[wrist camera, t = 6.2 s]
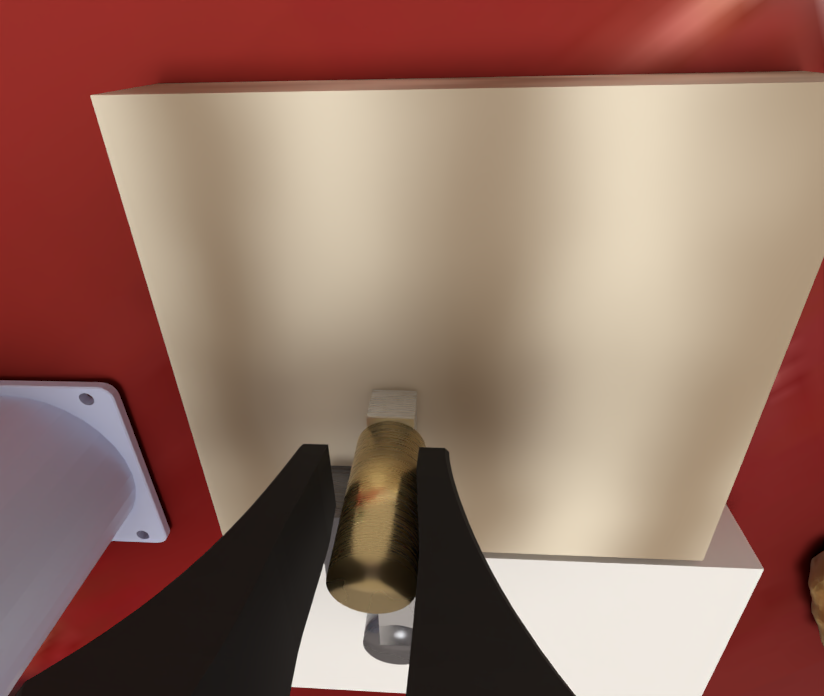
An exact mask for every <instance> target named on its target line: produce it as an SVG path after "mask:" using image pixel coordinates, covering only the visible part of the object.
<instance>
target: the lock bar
mask: <svg viewBox="0 0 824 696" xmlns="http://www.w3.org/2000/svg"><path fill="white" fill-rule="evenodd" d="M419 447H426V446H425V442H424V440H423V438H422V436H421V435H420V434H419V433H418V432H417V391H403V390H374V389H373V391H372V395H371V400H370V404H369V409H368V413H367V428H366V429H365V430H364V431H363V432H362V433H361V434H360V436H359V438H358V441H357V445H356V450H355V454H354V459H353V463H352V467H351V472H350V476H349V480H348V485H347V489H346V493H345V498H344V502H343V506H342V511H341V515H340V519H339V524H338V528H337V533H336V537H335V541H334V546H333V550H332V554H331V559H330V563H329V567H328V572H327V576H326V586H327V589H328V591H329V592H330V594H331V595H332V596H333V598H334V599H336V600H337V601H338V602H339V603H341V604H342V605H344V606H346V607H348V608H350V609H353V610H356V611H359V612H364V613H367V617H366V624H365V631H364V638H363V646H364V648H365V650H366V651H367V652H368V654H370V655H371V656H372V657H374V658H375V659H377V660H380V661H382V662H385V663H389V664H396V665H407V664H409V660H410V650H411V640H412V629H413V619H414V608H415V596H416V585H417V573H418V561H419V540H418V512H417V477H416V467H417V459H418V452H419Z"/></svg>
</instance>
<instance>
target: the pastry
mask: <svg viewBox="0 0 824 696" xmlns="http://www.w3.org/2000/svg"><path fill="white" fill-rule="evenodd" d="M808 585H809V589H810V595H811V597H812V603H811V610H812V614H813V615H814V618H815V620H816V622H817V624H818V628H819V632H820V639H821V642H822V644H823V646H824V551H823V552H821V553H819V554H818V555H817V556H815V557H813V558H812V560H811V564H810V575H809V581H808Z"/></svg>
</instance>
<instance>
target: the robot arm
mask: <svg viewBox="0 0 824 696" xmlns="http://www.w3.org/2000/svg"><path fill="white" fill-rule="evenodd" d="M87 394H89V395H90V396H92V398H91V397H89V396H88V395H87ZM416 477H417V512H418V540H419V561H418V573H417V585H416V596H415V608H414V619H413V629H412V640H411V650H410V660H409V670H408V679H407V688H406V696H576V695H575V694H574V693H573V691H572V690H571V689H570V688H569V686H568V685H567V684H566V683H565V681H564V680H563V679H562V677H561V676H560V675H559V674H558V672H557V671H556V670H555V668H554V667H553V665H552V664H551V663H550V661H549V660H548V659H547V657H546V656H545V655H544V653H543V652H542V651H541V649H540V648H539V646H538V645H537V643H536V642H535V640H534V639H533V637H532V636H531V634H530V633H529V631H528V630H527V628H526V627H525V625H524V624H523V622H522V621H521V619H520V618H519V616H518V615H517V613H516V612H515V610H514V609H513V607H512V605H511V604H510V602H509V600H508V599H507V597H506V595H505V594H504V592H503V590H502V589H501V587H500V585H499V583H498V581H497V580H496V578H495V576H494V574H493V572H492V570H491V569H490V567H489V565H488V563H487V561H486V559H485V557H484V555H483V553H482V551H481V548H480V546H479V544H478V542H477V540H476V538H475V535H474V533H473V531H472V529H471V526H470V524H469V521H468V519H467V516H466V514H465V511H464V508H463V506H462V503H461V500H460V497H459V494H458V491H457V488H456V485H455V481H454V478H453V474H452V469H451V464H450V457H449V451H448V450H447V449H445V448H431V447H419V452H418V459H417V467H416ZM335 508H336V500H335V493H334V485H333V478H332V470H331V463H330V455H329V448H328V444H303V445H301V446H300V447H299V448H298V450H297V451H296V452H295V454H294V455H293V456H292V458H291V459H290V460H289V461H288V463H287V464H286V465H285V466H284V468H283V469H282V470H281V471H280V473H279V474H278V475H277V476H276V478H275V479H274V480H273V481H272V482H271V484H270V485H269V486H268V487H267V488H266V490H265V491H264V492H263V493H262V494H261V495H260V496H259V498H258V499H257V500H256V501H255V502H254V503H253V505H252V506H251V507H250V508H249V509H248V510H247V511H246V512H245V513H244V514H243V516H242V517H241V518H240V519H239V520H238V521H237V522H236V523H235V524H234V525H233V526H232V527H231V528H230V529H229V530H228V531H227V532H226V533H225V534H224V535H223V536H222V537H221V538H220V539H219V540H218V541H217V542H216V543H215V544H214V545H213V546H212V547H211V548H210V549H209V550H208V551H207V552H206V553H205V554H204V555H203V556H202V557H200V558H199V559H198V560H197V561H196V562H195V563H194V564H193V565H191V566H190V567H189V568H188V569H187V570H186V571H185V572H184V573H182V574H181V575H180V576H179V577H177V578H176V579H175V580H174V581H173V582H171V583H170V584H169V585H168V586H167V587H165V588H164V589H163V590H162V591H161V592H159V593H158V594H157V595H156V596H154V597H153V598H152V599H150V600H149V601H148V602H147V603H145V604H144V605H143V606H141V607H140V608H139V609H137V610H136V611H134V612H133V613H132V614H130V615H129V616H127V617H126V618H125V619H123V620H122V621H120V622H119V623H117V624H116V625H115V626H113V627H112V628H110V629H109V630H108V631H106V632H105V633H103V634H102V635H100V636H99V637H97V638H96V639H94V640H93V641H91V642H90V643H88V644H87V645H85V646H83V647H82V648H80V649H79V650H77V651H75V652H74V653H72V654H70V655H69V656H67V657H66V658H64V659H62V660H61V661H59V662H57V663H56V664H54V665H52V666H51V667H49V668H48V669H46V670H44V671H43V672H41V673H39V674H38V675H36V676H34V677H33V678H31V679H29V680H27V681H26V682H25V683H24V684H23V686H22V687H21V688H20V690H19V691H18V692H17V694H16V695H15V696H290V691H291V686H292V681H293V676H294V671H295V666H296V661H297V656H298V651H299V648H300V644H301V640H302V636H303V632H304V629H305V625H306V622H307V619H308V615H309V612H310V609H311V605H312V602H313V598H314V595H315V592H316V588H317V585H318V582H319V578H320V575H321V571H322V568H323V565H324V561H325V558H326V554H327V551H328V547H329V543H330V538H331V532H332V527H333V521H334V515H335ZM169 533H170V528H169V526H168V523H167V520H166V518H165V515H164V512H163V510H162V507H161V504H160V502H159V499H158V496H157V494H156V491H155V488H154V486H153V483H152V480H151V478H150V475H149V472H148V470H147V467H146V464H145V461H144V459H143V456H142V453H141V451H140V448H139V445H138V443H137V440H136V437H135V435H134V432H133V429H132V427H131V424H130V421H129V419H128V416H127V413H126V411H125V408H124V405H123V403H122V400H121V397H120V395H119V393H118V391H117V389H115V388H114V387H113V386H112V385H110V384H108V383H103V382H66V381H14V380H0V696H8V694H9V693H10V691H11V690H12V688H13V687H14V685H15V684H16V682H17V681H18V679H19V678H20V676H21V675H22V673H23V672H24V670H25V669H26V668H27V666H28V665H29V663H30V662H31V660H32V659H33V657H34V656H35V654H36V653H37V651H38V650H39V648H40V647H41V645H42V644H43V642H44V641H45V639H46V638H47V636H48V635H49V633H50V632H51V630H52V629H53V627H54V626H55V624H56V623H57V621H58V620H59V618H60V617H61V615H62V614H63V612H64V611H65V609H66V608H67V606H68V605H69V603H70V602H71V600H72V599H73V597H74V596H75V594H76V593H77V591H78V590H79V588H80V587H81V585H82V584H83V582H84V581H85V579H86V578H87V576H88V575H89V573H90V572H91V570H92V569H93V567H94V566H95V564H96V563H97V561H98V560H99V558H100V557H101V555H102V554H103V552H104V551H105V549H106V548H107V546H108V545H109V543H110V542H111V541H128V542H154V543H159V542H163V541H165V540H166V538H167V537H168V535H169Z"/></svg>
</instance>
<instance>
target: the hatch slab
mask: <svg viewBox="0 0 824 696" xmlns="http://www.w3.org/2000/svg"><path fill="white" fill-rule="evenodd" d="M90 96H91V100H92V103H93V106H94V110H95V113H96V116H97V120H98V123H99V126H100V130H101V133H102V136H103V140H104V143H105V146H106V150H107V153H108V156H109V160H110V163H111V166H112V169H113V173H114V176H115V179H116V183H117V186H118V189H119V193H120V196H121V199H122V203H123V206H124V209H125V213H126V216H127V219H128V223H129V226H130V229H131V233H132V236H133V239H134V243H135V246H136V249H137V252H138V256H139V259H140V262H141V266H142V269H143V272H144V276H145V279H146V282H147V286H148V289H149V292H150V296H151V299H152V302H153V306H154V309H155V312H156V316H157V319H158V322H159V326H160V329H161V332H162V335H163V339H164V342H165V345H166V349H167V352H168V355H169V359H170V362H171V365H172V369H173V372H174V375H175V379H176V382H177V385H178V389H179V392H180V395H181V399H182V402H183V405H184V409H185V412H186V415H187V419H188V422H189V425H190V428H191V432H192V435H193V438H194V442H195V445H196V448H197V452H198V455H199V458H200V462H201V465H202V468H203V472H204V475H205V478H206V482H207V485H208V488H209V492H210V495H211V498H212V502H213V505H214V508H215V511H216V515H217V518H218V521H219V525H220V528H221V531H222V535H224V534H225V533H226V532H227V531H228V530H229V529H230V528H231V527H232V526H233V525H234V524H235V523H236V522H237V521H238V520H239V519H240V518H241V517H242V516H243V514H244V513H245V512H246V511H247V510H248V509H249V508H250V507H251V506H252V505H253V503H254V502H255V501H256V500H257V499H258V498H259V496H260V495H261V494H262V493H263V492H264V491H265V490H266V488H267V487H268V486H269V485H270V484H271V482H272V481H273V480H274V479H275V478H276V476H277V475H278V474H279V473H280V471H281V470H282V469H283V468H284V466H285V465H286V464H287V463H288V461H289V460H290V459H291V458H292V456H293V455H294V454H295V452H296V451H297V450H298V448H299V447H300V446H301V445H303V444H328V448H329V455H330V463H331V466H352V463H353V459H354V454H355V450H356V445H357V441H358V438H359V436H360V434H361V433H362V432H363V431H364V430H365V429H366V428H367V413H368V409H369V404H370V400H371V395H372V391H373V389H374V390H403V391H417V432H418V433H419V434H420V435H421V436H422V438H423V440H424V442H425V446H426V447H431V448H445V449H447V450H448V451H449V457H450V464H451V469H452V474H453V478H454V481H455V485H456V488H457V491H458V494H459V497H460V500H461V503H462V506H463V508H464V511H465V514H466V516H467V519H468V521H469V524H470V526H471V529H472V531H473V533H474V535H475V538H476V540H477V542H478V544H479V546H480V548H481V551H482V552H493V553H519V554H544V555H570V556H595V557H620V558H646V559H671V560H696V561H703V559H704V557H705V554H706V552H707V549H708V547H709V544H710V542H711V539H712V537H713V534H714V532H715V529H716V527H717V524H718V522H719V519H720V517H721V514H722V512H723V509H724V507H725V504H726V501H727V499H728V496H729V494H730V491H731V489H732V486H733V484H734V481H735V479H736V476H737V474H738V471H739V469H740V466H741V464H742V461H743V459H744V456H745V454H746V451H747V449H748V446H749V443H750V441H751V438H752V436H753V433H754V431H755V428H756V426H757V423H758V421H759V418H760V416H761V413H762V411H763V408H764V406H765V403H766V401H767V398H768V396H769V393H770V391H771V388H772V386H773V383H774V380H775V378H776V375H777V373H778V370H779V368H780V365H781V363H782V360H783V358H784V355H785V353H786V350H787V348H788V345H789V343H790V340H791V338H792V335H793V333H794V330H795V328H796V325H797V323H798V320H799V317H800V315H801V312H802V310H803V307H804V305H805V302H806V300H807V297H808V295H809V292H810V290H811V287H812V285H813V282H814V280H815V277H816V275H817V272H818V270H819V267H820V265H821V262H822V260H823V257H824V73H817V72H808V71H778V72H727V73H675V74H624V75H572V76H521V77H469V78H417V79H366V80H314V81H263V82H211V83H159V84H152V85H147V86H141V87H135V88H129V89H124V90H118V91H112V92H106V93H101V94H95V95H90Z"/></svg>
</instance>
